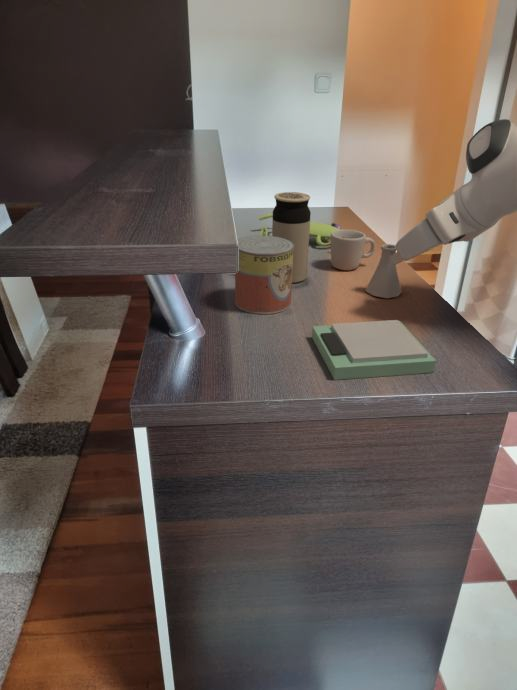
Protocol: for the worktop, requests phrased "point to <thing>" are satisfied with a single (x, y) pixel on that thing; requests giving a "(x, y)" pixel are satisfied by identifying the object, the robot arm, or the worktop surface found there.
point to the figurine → (311, 230)
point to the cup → (349, 248)
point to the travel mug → (294, 228)
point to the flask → (385, 276)
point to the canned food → (264, 274)
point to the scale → (371, 350)
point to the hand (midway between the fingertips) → (406, 255)
